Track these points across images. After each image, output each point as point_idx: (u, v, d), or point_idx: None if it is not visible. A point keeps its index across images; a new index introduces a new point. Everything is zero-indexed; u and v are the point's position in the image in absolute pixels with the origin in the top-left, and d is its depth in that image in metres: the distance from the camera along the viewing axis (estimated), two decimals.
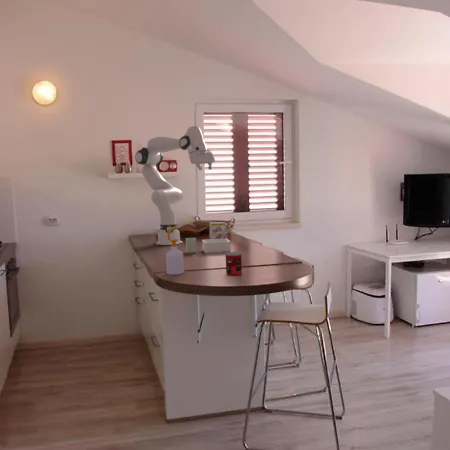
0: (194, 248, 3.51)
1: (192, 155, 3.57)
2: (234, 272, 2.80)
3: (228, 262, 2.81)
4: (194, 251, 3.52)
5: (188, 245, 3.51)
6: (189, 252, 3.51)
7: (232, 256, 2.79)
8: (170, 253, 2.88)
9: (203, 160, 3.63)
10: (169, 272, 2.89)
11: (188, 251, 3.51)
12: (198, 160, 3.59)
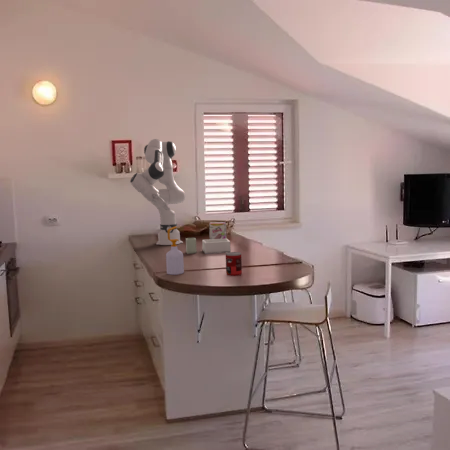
0: (194, 248, 3.51)
1: None
2: (234, 272, 2.80)
3: (228, 262, 2.81)
4: (194, 251, 3.52)
5: (188, 245, 3.51)
6: (189, 252, 3.51)
7: (232, 256, 2.79)
8: (170, 253, 2.88)
9: (159, 205, 3.49)
10: (169, 272, 2.89)
11: (188, 251, 3.51)
12: None
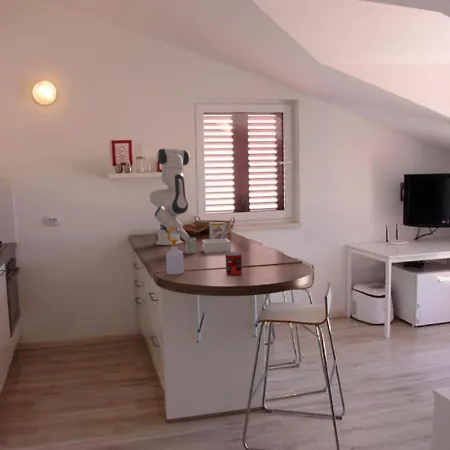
0: (194, 248, 3.51)
1: None
2: (234, 272, 2.80)
3: (228, 262, 2.81)
4: (194, 251, 3.52)
5: (188, 245, 3.51)
6: (189, 252, 3.51)
7: (232, 256, 2.79)
8: (170, 253, 2.88)
9: None
10: (169, 272, 2.89)
11: (188, 251, 3.51)
12: None
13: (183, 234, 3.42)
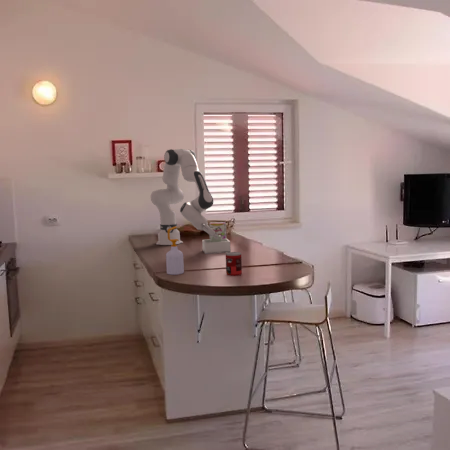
0: None
1: None
2: (234, 272, 2.80)
3: (228, 262, 2.81)
4: None
5: None
6: None
7: (232, 256, 2.79)
8: (170, 253, 2.88)
9: None
10: (169, 272, 2.89)
11: None
12: None
13: (209, 230, 3.44)
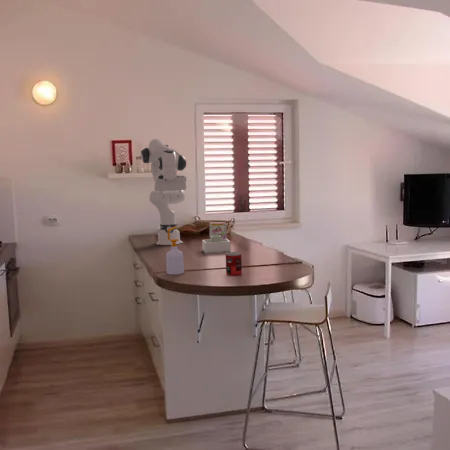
0: None
1: (155, 183, 3.52)
2: (234, 272, 2.80)
3: (228, 262, 2.81)
4: None
5: None
6: None
7: (232, 256, 2.79)
8: (170, 253, 2.88)
9: (168, 189, 3.53)
10: (169, 272, 2.89)
11: None
12: (160, 189, 3.52)
13: (185, 183, 3.56)
